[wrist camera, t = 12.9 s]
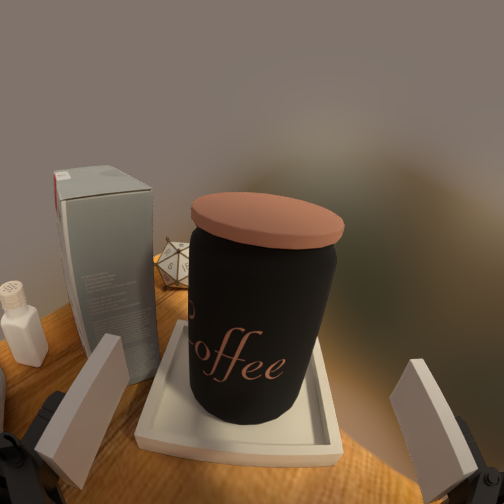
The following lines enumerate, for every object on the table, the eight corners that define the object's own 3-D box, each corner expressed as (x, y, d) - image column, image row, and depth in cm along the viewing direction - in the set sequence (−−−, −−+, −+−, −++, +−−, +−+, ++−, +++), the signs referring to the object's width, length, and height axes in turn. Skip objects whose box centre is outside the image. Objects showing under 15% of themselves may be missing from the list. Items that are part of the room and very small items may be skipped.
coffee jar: (167, 386, 26) (158, 201, 19) (237, 341, 34) (254, 187, 27) (253, 451, 20) (297, 250, 13) (315, 384, 28) (364, 217, 21)
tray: (312, 349, 36) (316, 334, 35) (334, 465, 20) (343, 453, 19) (178, 335, 35) (177, 319, 34) (139, 448, 20) (133, 434, 19)
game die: (169, 304, 48) (141, 252, 47) (211, 280, 51) (185, 229, 50) (176, 309, 40) (142, 244, 39) (227, 279, 43) (195, 218, 42)
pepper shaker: (51, 348, 28) (31, 279, 24) (41, 370, 24) (15, 299, 21) (26, 344, 27) (5, 277, 24) (15, 365, 24) (-12, 295, 20)
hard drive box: (71, 316, 35) (53, 170, 27) (120, 305, 39) (112, 164, 32) (100, 397, 24) (59, 194, 16) (165, 376, 29) (158, 184, 21)
